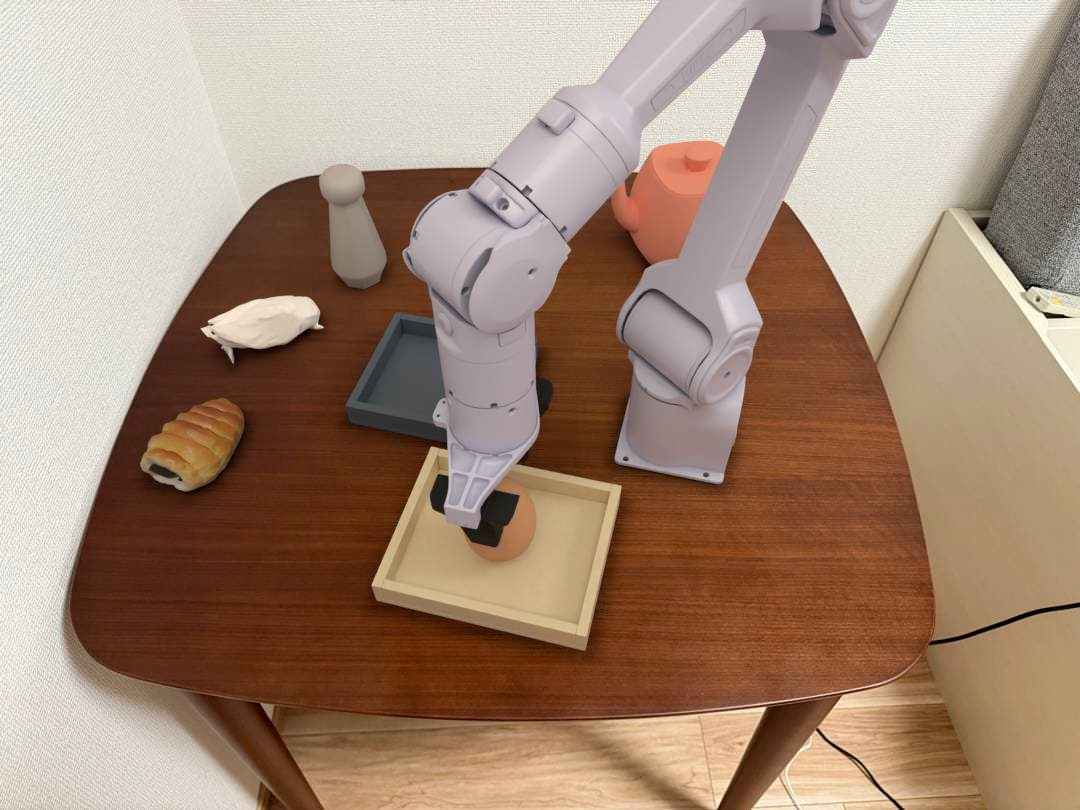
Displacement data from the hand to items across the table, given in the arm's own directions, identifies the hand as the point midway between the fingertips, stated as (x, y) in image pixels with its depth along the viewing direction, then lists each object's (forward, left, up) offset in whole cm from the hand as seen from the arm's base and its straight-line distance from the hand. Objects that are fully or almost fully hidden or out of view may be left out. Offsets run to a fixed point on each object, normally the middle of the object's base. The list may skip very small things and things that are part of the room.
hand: (499, 497), depth 61 cm
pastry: (+29, -2, -8) cm, 30 cm away
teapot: (-8, -41, -8) cm, 43 cm away
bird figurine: (+29, -17, -8) cm, 35 cm away
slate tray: (+10, -15, -8) cm, 20 cm away
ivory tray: (0, 0, -8) cm, 8 cm away
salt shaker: (+24, -28, -8) cm, 38 cm away
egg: (0, 0, -7) cm, 7 cm away
